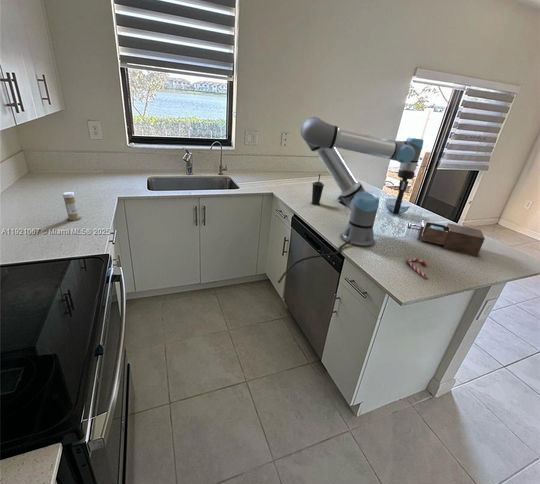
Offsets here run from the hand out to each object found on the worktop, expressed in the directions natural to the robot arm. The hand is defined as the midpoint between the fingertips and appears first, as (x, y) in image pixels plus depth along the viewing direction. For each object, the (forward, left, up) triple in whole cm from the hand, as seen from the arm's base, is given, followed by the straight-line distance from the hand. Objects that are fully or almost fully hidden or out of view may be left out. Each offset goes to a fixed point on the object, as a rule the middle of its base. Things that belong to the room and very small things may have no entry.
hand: (395, 213), depth 154 cm
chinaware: (+33, 0, -11) cm, 35 cm away
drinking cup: (+19, +49, -11) cm, 54 cm away
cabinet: (0, -33, -11) cm, 35 cm away
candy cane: (-35, -15, -11) cm, 40 cm away
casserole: (+37, +29, -11) cm, 48 cm away
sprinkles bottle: (-81, +143, -11) cm, 165 cm away
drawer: (0, -17, -10) cm, 20 cm away
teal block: (0, -21, -9) cm, 22 cm away
